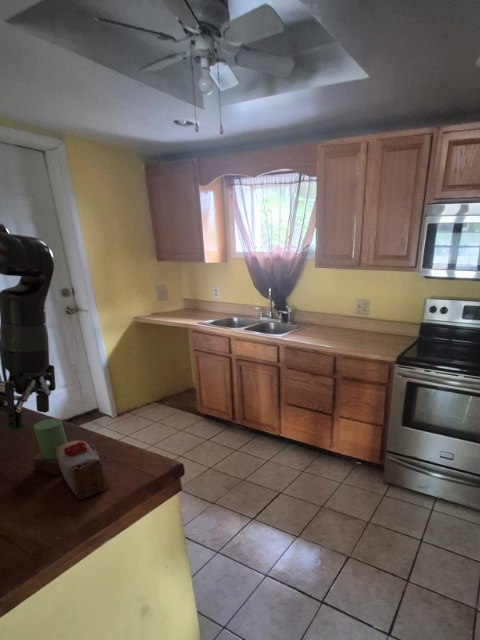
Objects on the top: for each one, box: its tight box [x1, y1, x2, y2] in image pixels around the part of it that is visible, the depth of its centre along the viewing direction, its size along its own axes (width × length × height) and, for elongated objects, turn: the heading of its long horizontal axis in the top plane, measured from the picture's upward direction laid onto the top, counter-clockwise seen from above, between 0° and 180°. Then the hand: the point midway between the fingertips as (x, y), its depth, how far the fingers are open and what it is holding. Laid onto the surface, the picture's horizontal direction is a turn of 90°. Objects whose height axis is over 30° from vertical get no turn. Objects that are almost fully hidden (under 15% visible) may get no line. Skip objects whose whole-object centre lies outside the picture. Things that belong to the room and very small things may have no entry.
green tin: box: [33, 418, 68, 459], centre depth 89 cm, size 6×6×8 cm
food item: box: [56, 440, 108, 500], centre depth 84 cm, size 14×8×10 cm, turn 44°
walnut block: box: [31, 452, 62, 476], centre depth 91 cm, size 7×7×4 cm
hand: (30, 419), depth 78 cm, fingers open, 8 cm apart
